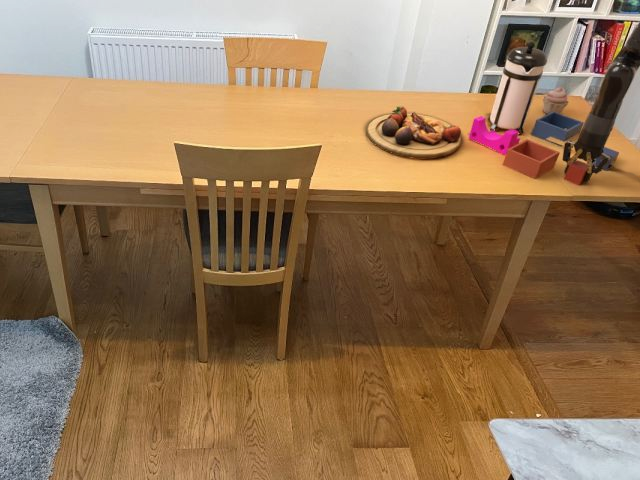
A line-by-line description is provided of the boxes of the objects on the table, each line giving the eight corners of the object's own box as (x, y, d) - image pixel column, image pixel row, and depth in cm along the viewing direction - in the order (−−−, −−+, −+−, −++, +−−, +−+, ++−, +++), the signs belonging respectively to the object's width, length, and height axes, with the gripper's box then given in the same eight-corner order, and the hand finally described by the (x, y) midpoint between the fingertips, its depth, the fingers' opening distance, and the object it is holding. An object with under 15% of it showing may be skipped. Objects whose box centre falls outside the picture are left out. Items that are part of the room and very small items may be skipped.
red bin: (553, 167, 190) (559, 152, 186) (535, 179, 184) (541, 163, 180) (521, 154, 197) (526, 139, 193) (502, 164, 191) (507, 149, 187)
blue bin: (578, 137, 207) (584, 122, 204) (561, 146, 202) (567, 131, 198) (547, 125, 214) (553, 111, 210) (530, 134, 208) (536, 119, 205)
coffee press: (537, 131, 210) (568, 45, 191) (505, 139, 205) (533, 52, 185) (502, 112, 222) (527, 30, 203) (470, 120, 216) (493, 35, 197)
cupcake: (539, 115, 221) (548, 89, 214) (537, 106, 227) (546, 80, 221) (565, 119, 219) (575, 93, 212) (563, 109, 226) (572, 83, 219)
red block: (586, 180, 184) (592, 166, 181) (578, 185, 182) (585, 171, 178) (571, 174, 187) (577, 160, 184) (563, 179, 184) (569, 164, 181)
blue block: (613, 166, 192) (619, 152, 188) (605, 170, 189) (612, 156, 186) (598, 160, 194) (604, 146, 191) (590, 164, 192) (597, 151, 189)
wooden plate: (475, 136, 206) (481, 114, 200) (434, 170, 187) (440, 146, 181) (394, 111, 221) (398, 89, 216) (349, 139, 202) (352, 117, 197)
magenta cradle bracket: (516, 150, 198) (523, 130, 194) (505, 155, 196) (512, 134, 191) (479, 134, 207) (485, 114, 203) (468, 139, 204) (474, 118, 200)
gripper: (567, 123, 175) (548, 173, 186) (615, 140, 167) (592, 192, 178) (580, 116, 179) (560, 166, 190) (627, 133, 171) (603, 184, 182)
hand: (575, 178), depth 184 cm, fingers closed on red block, 5 cm apart
